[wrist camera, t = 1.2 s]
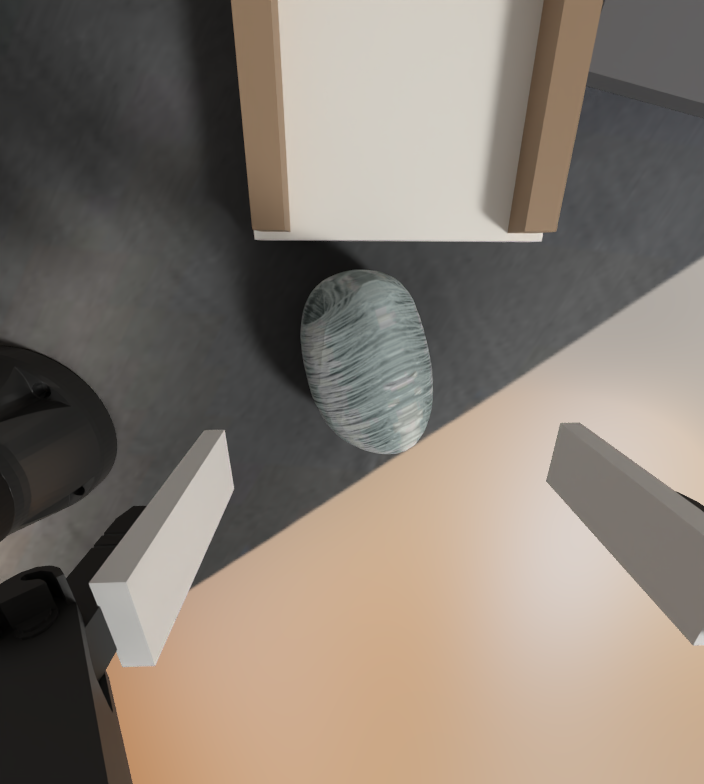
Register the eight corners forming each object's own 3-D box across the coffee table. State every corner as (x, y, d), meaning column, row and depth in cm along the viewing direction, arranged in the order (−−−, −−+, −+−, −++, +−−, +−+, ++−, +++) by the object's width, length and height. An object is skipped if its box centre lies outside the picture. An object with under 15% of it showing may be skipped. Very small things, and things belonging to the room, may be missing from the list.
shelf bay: (261, 240, 26) (245, 238, 22) (234, -66, 20) (205, -150, 16) (527, 242, 26) (562, 240, 22) (580, -57, 20) (641, -137, 16)
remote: (747, 134, 24) (780, 124, 23) (562, 83, 23) (581, 69, 21) (788, 55, 23) (827, 37, 21) (592, -4, 22) (615, -28, 20)
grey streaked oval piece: (258, 277, 24) (325, 322, 16) (374, 242, 27) (472, 267, 20) (302, 426, 32) (359, 500, 24) (387, 385, 35) (460, 440, 28)
